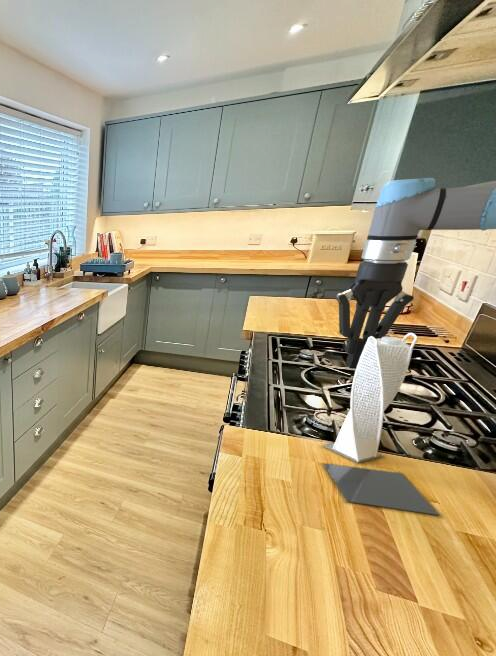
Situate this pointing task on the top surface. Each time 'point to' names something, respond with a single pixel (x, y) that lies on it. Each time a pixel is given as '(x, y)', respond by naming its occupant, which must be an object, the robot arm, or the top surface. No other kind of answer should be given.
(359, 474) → the slate pad
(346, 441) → the skyscraper
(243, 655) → the top surface
